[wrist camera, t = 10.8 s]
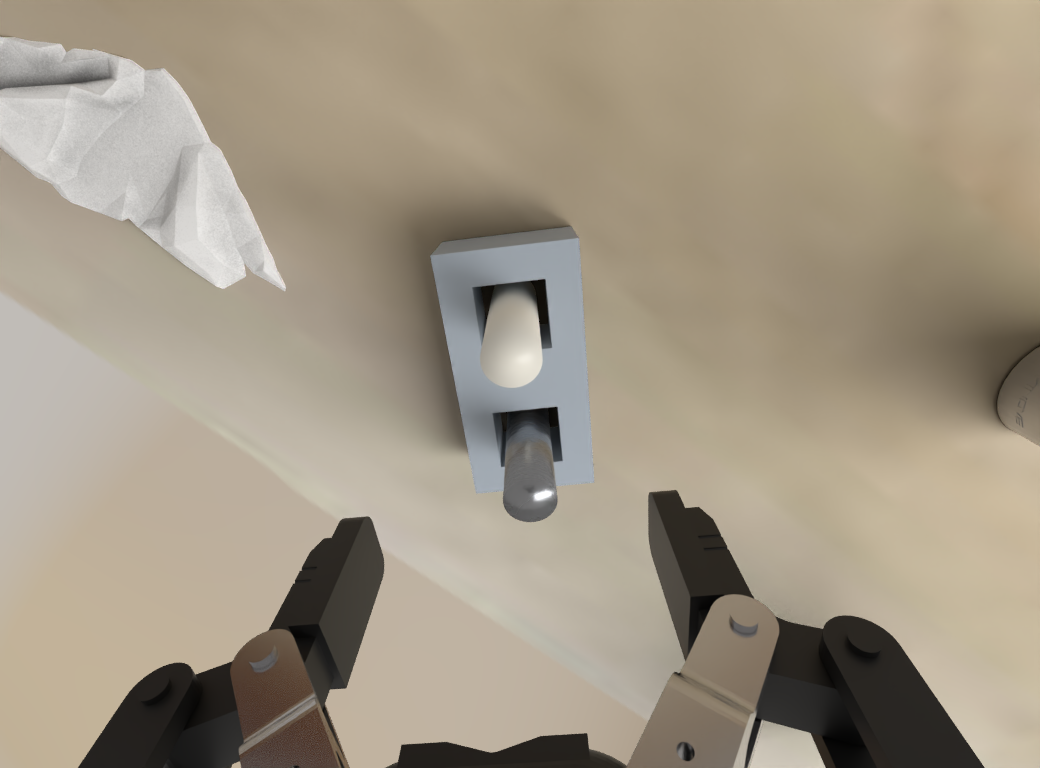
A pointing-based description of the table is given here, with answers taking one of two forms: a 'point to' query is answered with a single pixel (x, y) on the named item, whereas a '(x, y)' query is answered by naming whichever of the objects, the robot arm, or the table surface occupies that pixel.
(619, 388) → the table surface
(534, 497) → the grey peg
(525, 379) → the cream peg
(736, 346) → the table surface
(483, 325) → the hole block
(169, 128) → the cloth
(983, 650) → the table surface
